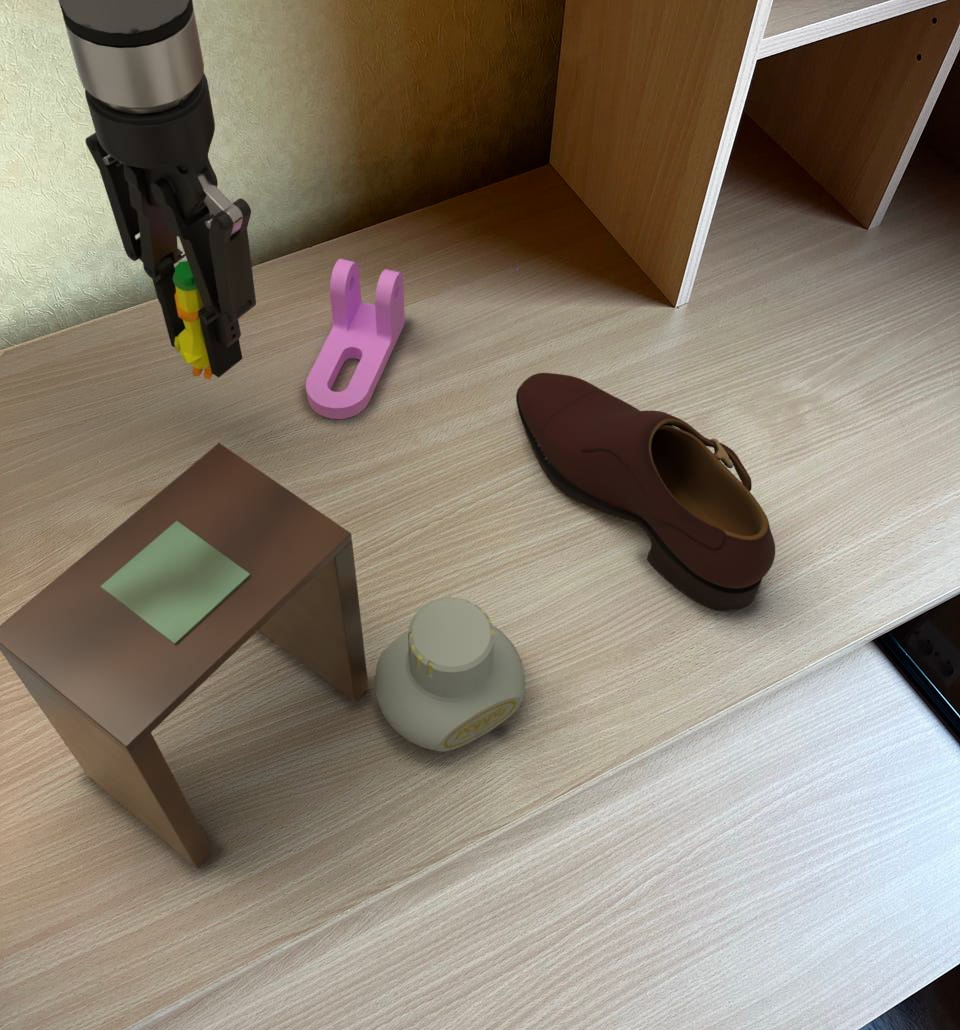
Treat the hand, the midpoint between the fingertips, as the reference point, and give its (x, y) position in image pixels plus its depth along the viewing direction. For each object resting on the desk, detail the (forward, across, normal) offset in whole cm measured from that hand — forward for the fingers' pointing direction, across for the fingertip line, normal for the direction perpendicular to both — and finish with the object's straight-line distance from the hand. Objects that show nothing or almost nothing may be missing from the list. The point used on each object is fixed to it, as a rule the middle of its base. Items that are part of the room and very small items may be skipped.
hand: (206, 351), depth 88 cm
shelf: (+8, -22, +21) cm, 31 cm away
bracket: (+8, -4, -12) cm, 15 cm away
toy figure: (+3, +1, 0) cm, 3 cm away
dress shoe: (+8, -32, -16) cm, 37 cm away
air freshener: (+8, -32, +9) cm, 34 cm away
